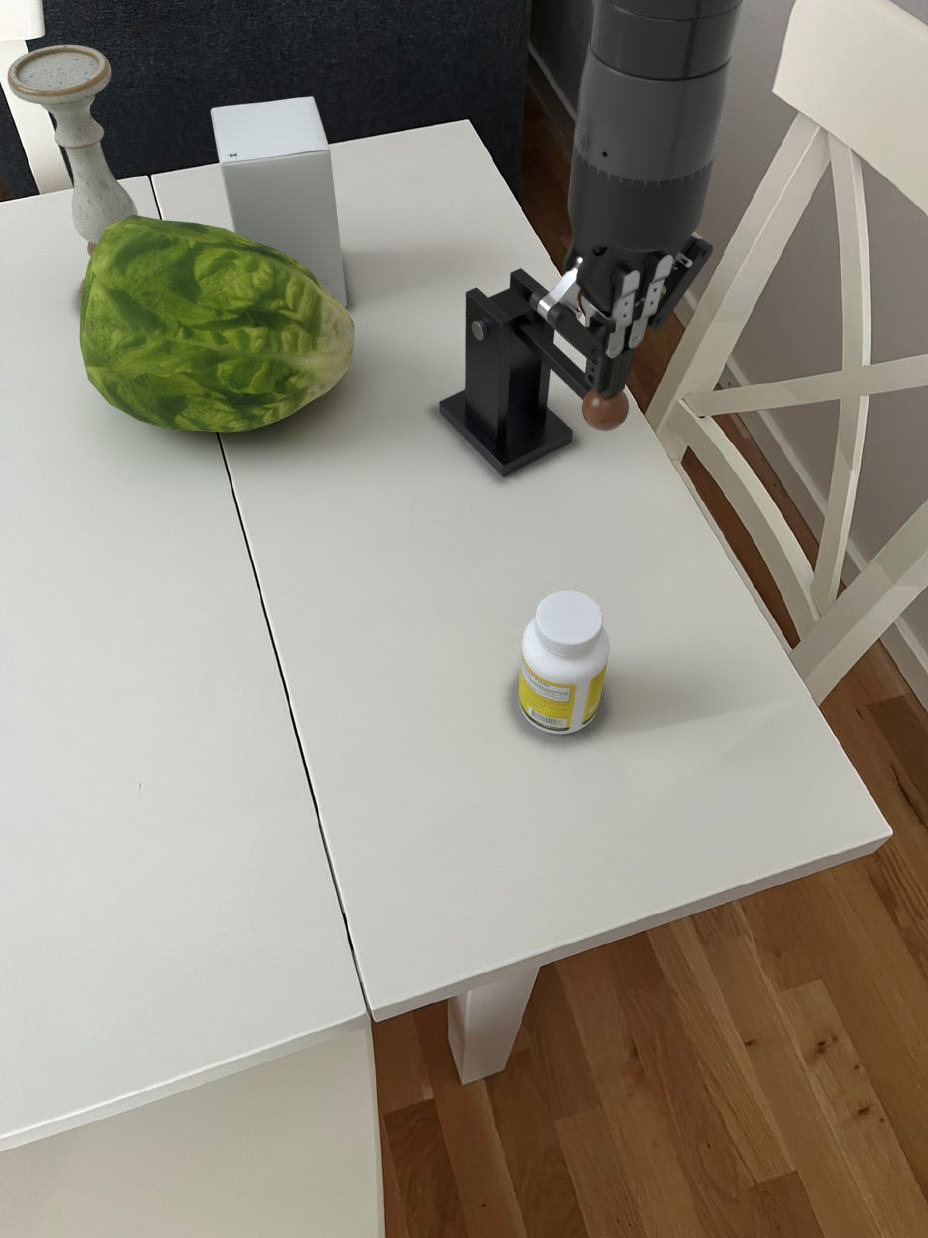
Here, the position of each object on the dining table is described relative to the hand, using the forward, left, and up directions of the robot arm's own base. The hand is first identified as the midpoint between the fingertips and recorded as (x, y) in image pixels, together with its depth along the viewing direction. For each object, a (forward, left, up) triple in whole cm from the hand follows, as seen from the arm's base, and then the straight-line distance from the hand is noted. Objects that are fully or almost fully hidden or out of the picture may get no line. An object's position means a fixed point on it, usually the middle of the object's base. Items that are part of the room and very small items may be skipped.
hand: (605, 387), depth 66 cm
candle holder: (+48, -1, -12) cm, 49 cm away
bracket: (+10, -4, -12) cm, 16 cm away
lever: (+5, -2, -3) cm, 6 cm away
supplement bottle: (-6, +16, -12) cm, 21 cm away
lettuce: (+31, +5, -12) cm, 33 cm away
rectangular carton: (+36, -10, -12) cm, 39 cm away
